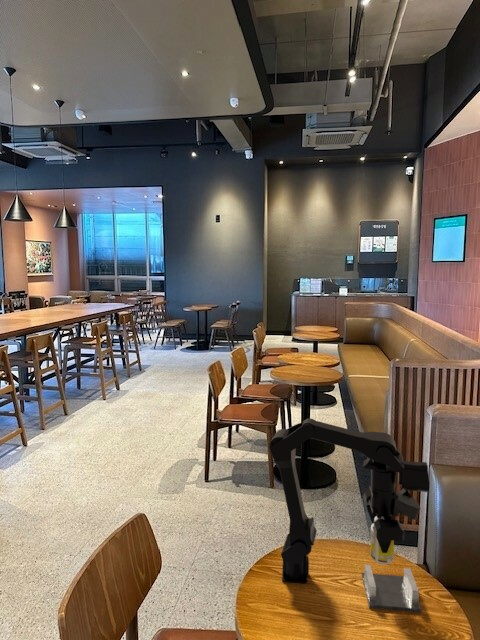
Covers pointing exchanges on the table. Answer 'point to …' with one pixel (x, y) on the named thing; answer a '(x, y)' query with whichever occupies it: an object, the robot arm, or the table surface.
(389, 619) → the table surface
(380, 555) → the supplement bottle
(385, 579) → the grey u-shaped holder
